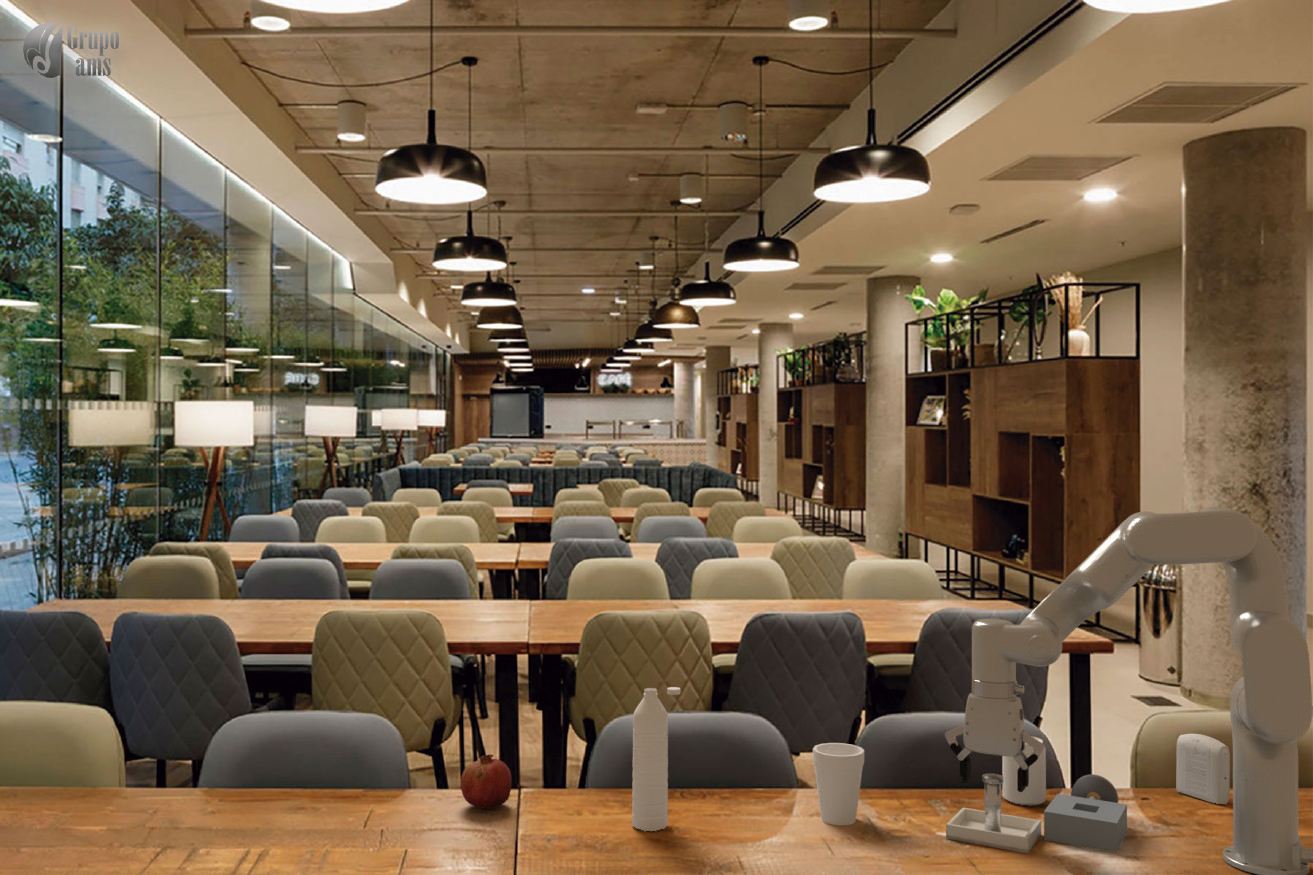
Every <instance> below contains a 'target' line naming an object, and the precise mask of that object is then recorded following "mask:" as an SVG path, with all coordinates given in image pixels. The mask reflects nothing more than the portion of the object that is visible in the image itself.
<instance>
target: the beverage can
mask: <svg viewBox="0 0 1313 875" xmlns="http://www.w3.org/2000/svg"><path fill="white" fill-rule="evenodd" d="M1032 737H1033V738H1035V739H1036V740H1038V741H1039V742H1041V743H1043V744H1044V741H1043V739H1041V738H1039V737H1036V736H1032ZM1033 751H1034V749H1033V747H1031V746H1030V745H1028V744H1027V743H1026V744H1025V750H1024V751H1023V752H1024V753H1025V755H1026V756H1027V757H1029V756H1031V755H1032V753H1033ZM1046 751H1047V748H1046V747H1045V748H1044V750H1043V752H1042V753H1041V755H1040V757H1039V758H1038V760H1037V761H1036V762H1034V763H1033V764H1032V765H1031V766H1030V767H1029V784H1028V787H1025V789H1024V790H1023V792H1019V791H1018V790H1017V771H1018V769H1019V768H1020V766H1019V764H1018V763H1017V762H1016V760H1015V759H1014V758H1013V757H1007V756H1001V757H1002V763H1001V764H1002V767H1001V768H1002V772H1001V773H1002V776H1003V783H1002V798H1003V799H1005V800H1006V801H1008V802H1009V801H1010V802H1009V803H1011V802H1013V803H1012V804H1014V803H1015V804H1014V805H1017V804H1021V805H1020V806H1023V805H1028V806H1027V807H1032V806H1038V805H1039V806H1040V805H1041V804H1043V803H1045V802H1046V800H1047V794H1046V793H1047V780H1046V779H1047V772H1046V771H1047V759H1046V758H1047V754H1046V753H1047V752H1046Z"/></svg>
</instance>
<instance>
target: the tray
mask: <svg viewBox="0 0 1313 875" xmlns="http://www.w3.org/2000/svg"><path fill="white" fill-rule="evenodd" d="M1041 836H1042V820H1041V819H1040V820H1039V819H1034V818H1027V817H1021V816H1018V815H1017V816H1016V815H1011V814H1004V813H1001V833H999V832H993V831H988V830H985V810H982V809H975V808H967V807H962V808H960V810H958V811H957V813H956V814H955V815H953V816H952V818H951V819H950V820H949V821H947V823H945V839H946V840H947V839H948V840H952V841H959V842H964V843H969V844H974V845H979V846H985V847H990V848H996V849H1001V850H1005V851H1006V850H1007V851H1012V852H1017V853H1024V854H1029V852H1031V850H1032V848H1033V847H1034V845H1035V844H1036V843H1037V841H1038V840H1039V838H1040V837H1041Z"/></svg>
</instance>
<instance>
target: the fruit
mask: <svg viewBox="0 0 1313 875" xmlns="http://www.w3.org/2000/svg"><path fill="white" fill-rule="evenodd" d="M493 757H494V754H490V753H489V754H486V755H480V757H479V760H475V761H473V762H471V763H469V764H468V765H467V766H466V767H465V769H463V772H462V774H461V778H460V789H461V793H462V796H463V798H464V800H465V802H467V803H468V804H469V805H471V806H473V807H477V808H481V809H487V810H489V809H495V808H497V807H499V806H502V805H504V804H505V803H506V802H507V801H508V800H509V798H510V795H511V790H512V772H511V770H510V768H509V767H508V765H507V764H506V763H505V762H503V760H500V759H497V758H493Z"/></svg>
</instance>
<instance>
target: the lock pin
mask: <svg viewBox="0 0 1313 875" xmlns="http://www.w3.org/2000/svg"><path fill="white" fill-rule="evenodd" d="M981 778H982V782H983V783H984V811H985V830H988V831H993V832H999V833H1001V814H1002V784H1003V775H1001V774H998V773H985V774H984V773H983V774H982V777H981Z"/></svg>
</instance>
